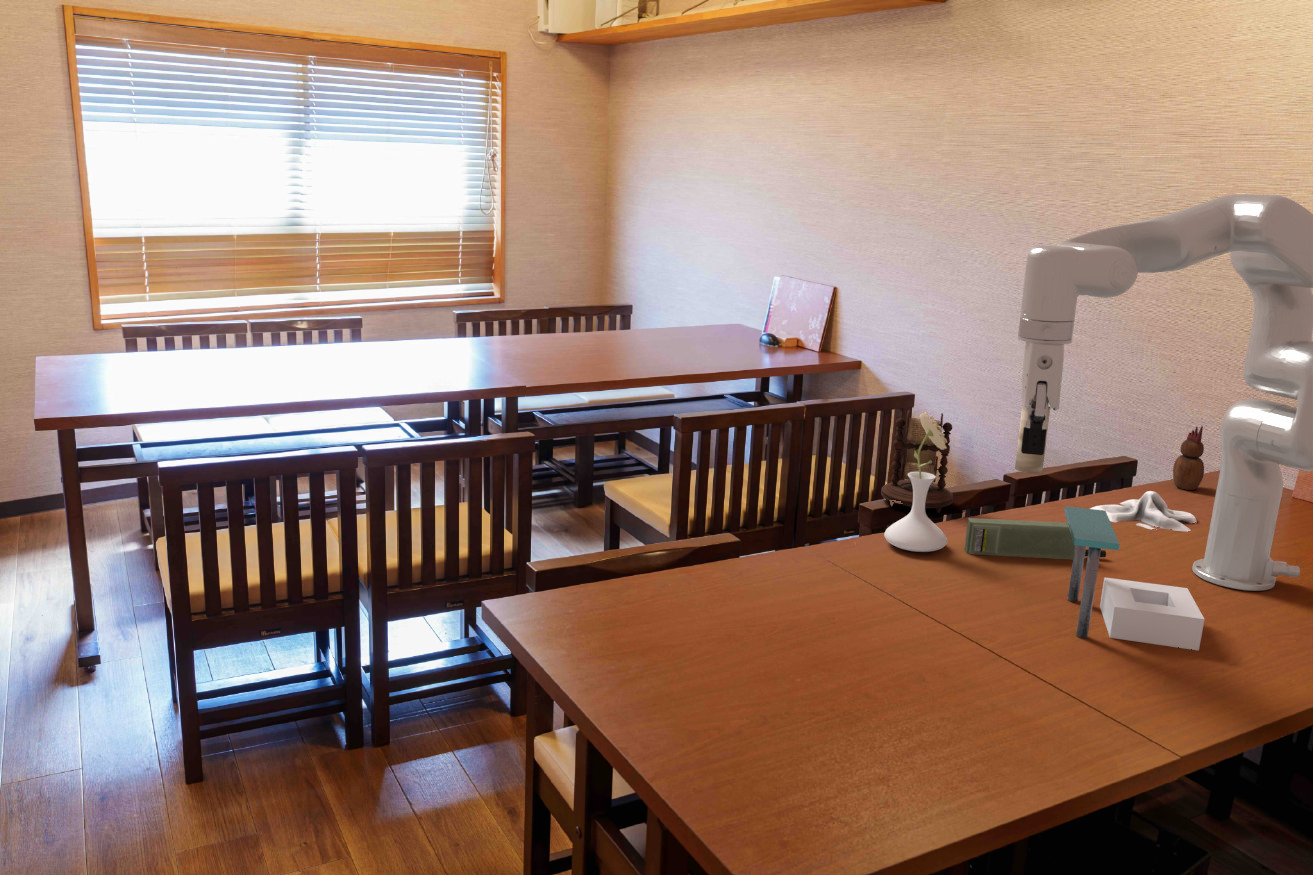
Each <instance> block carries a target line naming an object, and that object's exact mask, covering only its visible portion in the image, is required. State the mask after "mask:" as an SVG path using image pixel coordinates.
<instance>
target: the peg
mask: <svg viewBox="0 0 1313 875" xmlns="http://www.w3.org/2000/svg"><path fill="white" fill-rule="evenodd" d="M1031 407H1033V408H1035V404H1031ZM1027 409H1028V408H1026V407H1025V406H1024V404H1022V405H1021V412H1020V413H1021V414H1020V421H1019V430H1018V439H1017V440H1018V441H1017V447H1016V448H1017V449H1016V454H1015V458H1016V459H1015V464H1014V469H1015V471H1018V472H1021V473H1025V474H1040V473H1043V470H1044V462H1045V455H1046V446H1047V438H1048V431H1049V430H1048V429H1049V424H1050V423H1049V422H1050V414H1051V407H1050V405H1048V413H1047V422H1046V429H1047V432H1046V440H1045V448H1044V454H1043V455H1033V454H1023V453H1022V452H1021V447H1022V439H1023V430H1024V427H1026V421H1027V411H1028V410H1027ZM1032 413H1034V412H1032ZM1032 413H1031V415H1032Z"/></svg>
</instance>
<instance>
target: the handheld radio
mask: <svg viewBox="0 0 1313 875" xmlns="http://www.w3.org/2000/svg"><path fill="white" fill-rule="evenodd" d="M963 550H964V551H965V553H966V554H968V555H980V556H981V555H983V556H999V557H1000V556H1002V557H1017V558H1018V557H1021V558H1036V559H1056V560H1057V559H1058V560H1059V559H1060V560H1073V557H1074V550H1075V545H1074V543H1073V540H1072V536H1071V533H1070V530H1069V526H1068V523H1067V522H1059V521H1037V520H1035V521H1034V520H1017V519H1016V520H1013V519H997V518H995V519H994V518H992V519H991V518H976V517H967V525H966V534H965V541H964V548H963ZM1088 551H1089V548H1088V549H1087V548H1086V550H1085V557H1088ZM1106 557H1107V552H1106V549H1101V552H1100V558H1106Z"/></svg>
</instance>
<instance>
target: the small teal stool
mask: <svg viewBox="0 0 1313 875" xmlns="http://www.w3.org/2000/svg"><path fill="white" fill-rule="evenodd" d="M1063 511H1064V512H1063V513H1064V516H1065V519H1066V523H1068V526H1069V530H1070V533H1071V536H1072V540H1073V543H1074V545H1075V550H1074V557H1073V559H1072V565H1071V566H1072V567H1071V571H1070V572H1071V573H1070V579H1069V586H1068V587H1069V588H1068V593H1067V601H1068V602H1071V603H1078V602H1079V596H1080V590H1081V582H1082V577H1083V569H1084V563H1085V557H1086V556H1085V550H1086V549H1087V548H1088V549H1089V551H1088V556H1087V560H1086V567H1085V573H1084V580H1083V586H1082V592H1081V593H1082V594H1081V600H1080V607H1079V611H1078V612H1079V613H1078V619H1077V625H1076V626H1077V627H1076V633H1075V636H1076V638H1079V639H1083V640H1084V639H1088V638H1089V637H1088V636H1089V630H1090V625H1091V617H1092V613H1093V612H1092V611H1093V603H1094V597H1095V590H1096V584H1097V577H1098V571H1099V566H1100V558H1101V557H1100V552H1101V550H1112V551H1113V550H1114V551H1120V541H1119V540H1118V536H1117V535H1116V532H1115V530H1114V528H1113V525H1112V523H1111V521H1110V520H1109V518H1108V516H1107V513H1106V511H1104V510H1095V509H1090V508H1084V507H1077V506H1066V505H1065V506H1064V510H1063Z"/></svg>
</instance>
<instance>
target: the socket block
mask: <svg viewBox="0 0 1313 875" xmlns="http://www.w3.org/2000/svg"><path fill="white" fill-rule="evenodd" d="M1099 608H1100V611H1101V614H1102V616H1103V617H1102V618H1103V621H1104V624H1105V627H1106V630H1107V634H1108V636H1109V639H1117V640H1125V641H1131V642H1138V643H1142V644H1143V643H1145V644H1151V645H1157V646H1163V647H1166V646H1167V647H1171V648H1178V647H1179V648H1180V649H1185V650H1191V649H1192V650H1193V651H1199V650H1200V645H1201V640H1202V636H1203V635H1202V634H1203V631H1204V630H1203V629H1204V624H1205V617H1204V615H1203V614H1202V612H1201V611H1200V608H1199V607H1198V604H1197V603H1196V602H1195V598H1193V596H1192V594H1191V592H1190V590H1189V588H1187V587H1180V586H1173V585H1166V584H1158V583H1152V582H1142V581H1135V580H1126V579H1119V578H1113V577H1103V584H1102V590H1101V599H1100V604H1099Z"/></svg>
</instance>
